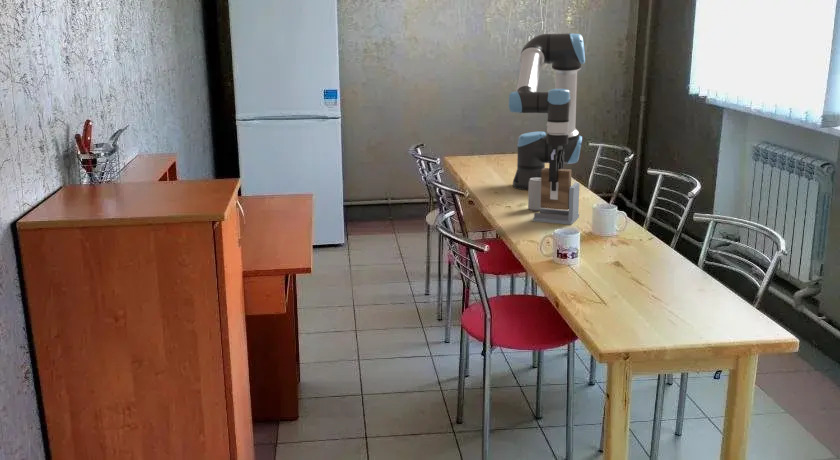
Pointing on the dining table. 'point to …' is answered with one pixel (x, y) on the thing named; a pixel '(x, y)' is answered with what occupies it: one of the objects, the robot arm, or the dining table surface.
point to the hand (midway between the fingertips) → (555, 197)
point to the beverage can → (534, 194)
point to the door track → (558, 214)
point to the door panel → (563, 189)
